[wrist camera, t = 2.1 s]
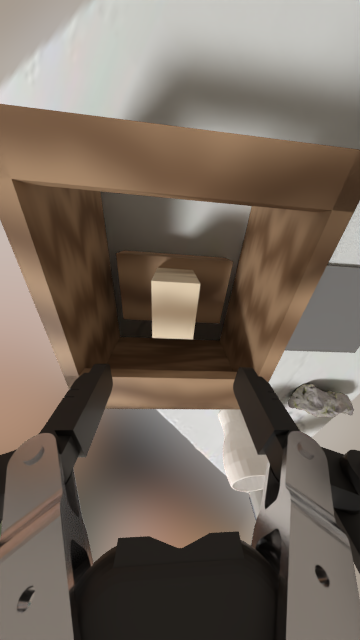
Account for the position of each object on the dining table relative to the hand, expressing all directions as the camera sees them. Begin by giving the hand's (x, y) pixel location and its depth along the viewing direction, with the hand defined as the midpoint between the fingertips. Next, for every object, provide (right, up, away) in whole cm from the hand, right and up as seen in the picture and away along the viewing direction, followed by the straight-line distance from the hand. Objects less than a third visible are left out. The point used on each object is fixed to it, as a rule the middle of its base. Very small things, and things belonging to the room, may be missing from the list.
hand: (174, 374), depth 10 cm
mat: (+32, +5, +21) cm, 39 cm away
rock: (+37, -16, +34) cm, 53 cm away
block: (-1, +8, +14) cm, 16 cm away
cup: (+15, -24, +37) cm, 47 cm away
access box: (-1, +9, +17) cm, 20 cm away
